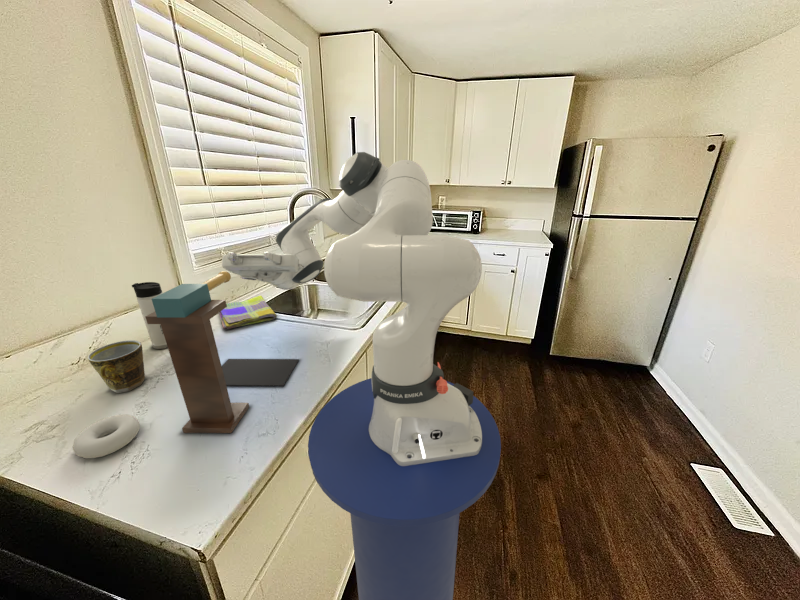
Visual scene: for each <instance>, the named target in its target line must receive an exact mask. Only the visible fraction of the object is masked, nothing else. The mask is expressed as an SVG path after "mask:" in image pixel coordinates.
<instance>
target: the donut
mask: <svg viewBox="0 0 800 600" xmlns="http://www.w3.org/2000/svg"><path fill="white" fill-rule="evenodd" d="M140 425H141V423H140V421H139V419H137V417H136V416H134V415H131V414H121V413H120V414H115V415H110V416H107V417H104V418H101V419H99V420H96V421H95V422H93V423H91V424H90V425H88V426H86V427H85V428H84V429H83V430H82V431H80V432H79V434H78V435H77V436H76V437H75V438H74V440H73V443H72V450H73V452H74V454H75V456H77V457H80V458H83V459H97V458H101V457H106V456H108V455H110V454H113V453H115V452H117V451H119V450H121V449H122V448H125V446H127V445H128V444H129V443H131V441H133V439H134V438H135V437H136V436H137V434H138V433H139V431H140Z"/></svg>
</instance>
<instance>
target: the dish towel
mask: <svg viewBox="0 0 800 600" xmlns="http://www.w3.org/2000/svg"><path fill="white" fill-rule="evenodd" d="M226 305H227V307H226V308H224V309H223V310H222V311H220V312H219V317H220V321H221V325H222V329H228V330H231V329H234V328H235V329H236V328H239V327H243V326H247V325H248V326H249V325H254V324H260V323H263V322H269V321H273V320H275V319H276V318H277V317H278V316H277V314H276V312H275V311H274V310H273V309H272V308H271V306H270V305H269V304H268V303H267V302H266V300H265V299H264V297H263V296H262V295H257V296H254V297H251V298H248V299H245V300H243V301H234V302H228V303H227V302H226Z"/></svg>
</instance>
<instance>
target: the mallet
mask: <svg viewBox="0 0 800 600" xmlns="http://www.w3.org/2000/svg"><path fill="white" fill-rule="evenodd" d="M230 273H231V272H230ZM230 273H229V271H227V270H222V271H219V272H218V274H217V275H215V276H213V277H211V278H210V279H207V280H205V281H204V282H202V283H181V284H178V285H177V286H175V287H173V288H171V289H168V290H167V291H165V292H163V293H162V294H160V295H158V296H156V297H154V298H152V303H153V306H154V309H155V312H156V315H157V317H158V318H167V317H187V316H188V315H190V314H191V313H193V312H194V311H196V310H198V309H199V308H201V307H202V306H204V305H205V304H207V303H208V302H210V301H211V300H212V298H211V297H212V296H211V293H210V292H211V291H212V290H214V289H215V288H218V287H219V286H221V285H222V284H225V283H228V282H230V280H231V278H232V275H231V274H230Z"/></svg>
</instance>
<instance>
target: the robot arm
mask: <svg viewBox="0 0 800 600" xmlns="http://www.w3.org/2000/svg"><path fill="white" fill-rule="evenodd" d="M338 186H339V187H340V189H341V190H342V191H340V192H339V194H338V195H337V196H336V197H335V198H330V197H326V198H321V199H320V200H318V201H316V202H315V203H313V204H312V205H311V206H310V207H308V208H307V209H306V210H305V211H304V212H302V213H301V214H300V215H298V216H297V217H296V218H295V219H294V220H292V221H291V222H290V223H288V224H286V225H284V226H283V227H282V228H280V229H278V230H279V231H278V232H277V234H276V239H275V243H276V244H277V246H278V247H279V249H280V250H281V251H282V252H283V253H275V252H270V251H269V252H268V251H266V252H265V251H264V253H257V254H255V253H254V254H253V253H252V254H251V253H249V254H248V253H247V254H246V253H244V254H243V253H241V254H240V253H239V254H237V253H236V252H227V253H226V254H223V255H222V257H221V267H222V269H224V270H225V271H227V272H228V273H229V272H230V273H231V274H234V275H237V276H239V277H240V279H243V280H248V281H249V280H250V281H257V282H261V283H266V284H268V285H271V286H273V287H275V288H277V289H280V290H284V291H286V290H287V291H289V290H294V289H297V287H300V285H303V284H306V283H308V282H310V281H313V280H315V279H316V278H317V277H318V276H320V274H321V272H322V270H323V274H324V279H325V281H326V283H327V285H328V287H329V290H330V291H332V293H334V295H336V296H337V297H339V298H344V299H348V300H353V301H358V302H365V303H367V302H371V303H372V302H373V303H374V302H375V303H376V302H381V303H384V302H385V303H387V302H388V303H389V302H392V303H393V302H402V303H406V305H405V306H404V308H402V309H401V310H399V311H398V312H396V313H393V314H391V315H390V316H388V317H386V318H384V319H383V320H382V321H380V322H379V323H378V324H377V326H376V327H375V329H374V331H373V333H372V355H373V365H372V370H371V375H370V377H371V380H372V392H373V397H374V406H373V413H372V417H371V421H370V424H369V435H370V437H371V439H372V441H373V442H374V444H375V445H376V446H377V447H379V448H380V449H381V450H383V451H385V452H387V453H388V454H390V455H391V457H392V458H393V459H394V461H395V462H396V463H397V464H398V465H400V466H409V465H416V464H422V463H429V462H436V461H442V460H449V459H455V458H462V457H468V456H474V455H477V454H478V453H479V451H480V449H481V446H482V431H481V426H480V422H479V420H478V417H477V415H476V413H475V412H474V410H473V409H472V408H471V407H470V406H469V405H471V404H472V403H473V396H474V394H475V393H474V391H473V390H471V389H469V388H467V387H465V386H463V385H461V384H460V383H458V382H456V383H453V384H454V385H453V386H452V385H450V384H448V383H447V381H448V380H446V379H445V378H444V377H445V375H444V371H443V369H442V367H441V364H440V362H439V361H437V365H436V364H434V354H435V344H436V338H437V334H438V330H439V329H440V326H441V324H442V322H443V321H444V319H445V317H447V315H448V314H449V313H450V312H451V310H453V309H454V308H455V307H456V306H457V305H458V304H459V303H461V302H462V301H464V300H465V299H467V298H468V297H470V296H471V295H472V294H473V293H474V292H475V290H476V289H477V287H478V286H479V284H480V281H481V277H482V273H483V263H482V259H481V255H480V253H479V251H478V249H477V248H476V246H475V245H474V244H473V242H471V241H470V240H469V239H465V238H460V237H455V236H450V235H444V234H430V232H431V229H432V227H433V222H434V217H433V216H434V215H433V204H432V203H433V202H432V201H433V199H432V192H431V191H432V190H431V185H430V182H429V180H428V176H427V175H426V172H425V170H424V169H423V167H422V166H421V165H420V164H418V162H416V161H414V160H411V159H399V160H396V161H394V162H392V164H391V165H389V166H386V164H384V163H382V162H381V159H380V158H379V157H377V156H375V155H372V154H370V153H368V152H365V151H357V152H355V153H354V154H352V155H351V156H350V157H349V158H348V159H346V161H345V162H344V163H343V165H342V166H341V169H340V173H339V176H338ZM320 222H322V223H323V224H325V225H326V226H327V227H328V228H329V229H330V230H331V231H334V232H336V233H337V234H340V235H344V236H345V237H342V238H339V239H337V240H336V241H334V242H333V243H332V244H331V246H330V247H329V249H328V250H327V252H326V254H325V258H324V261H323V258H322V257H321V255H320V253H319V251H318V250H317V248H316V247H315V244H314V243H313V242H312V239H311V237H310V233H309V232H310V230H311V229H313V228H314V227H315V226H317V225H318V224H319V223H320ZM476 441H477V442H476ZM409 457H410V458H409Z"/></svg>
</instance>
